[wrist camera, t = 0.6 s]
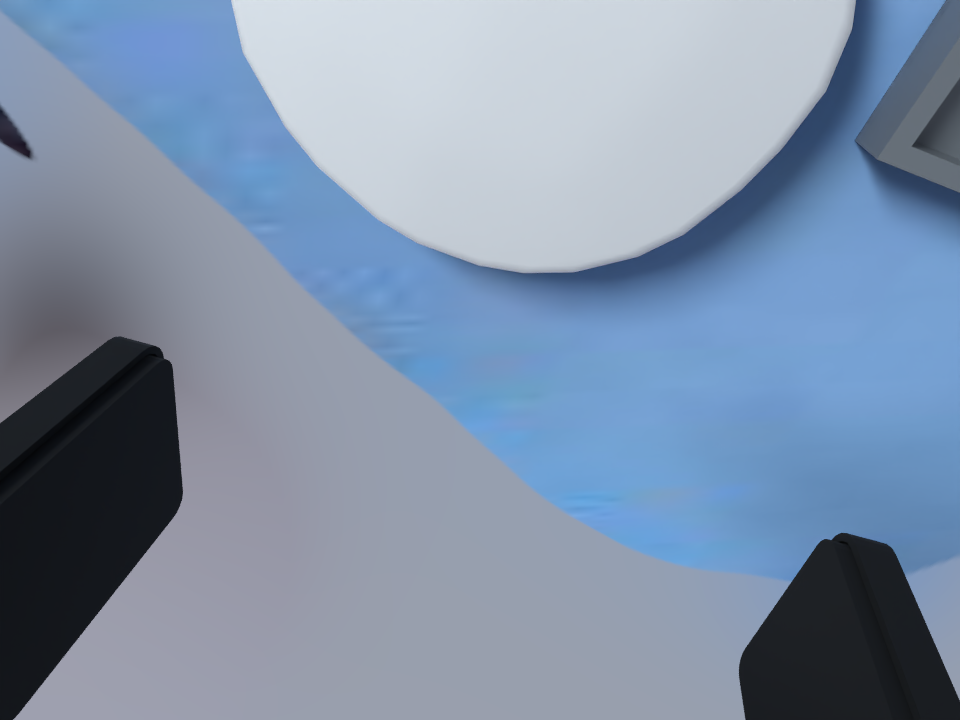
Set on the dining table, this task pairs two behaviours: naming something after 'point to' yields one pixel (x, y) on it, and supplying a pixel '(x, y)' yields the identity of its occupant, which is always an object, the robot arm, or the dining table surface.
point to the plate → (543, 112)
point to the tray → (923, 107)
